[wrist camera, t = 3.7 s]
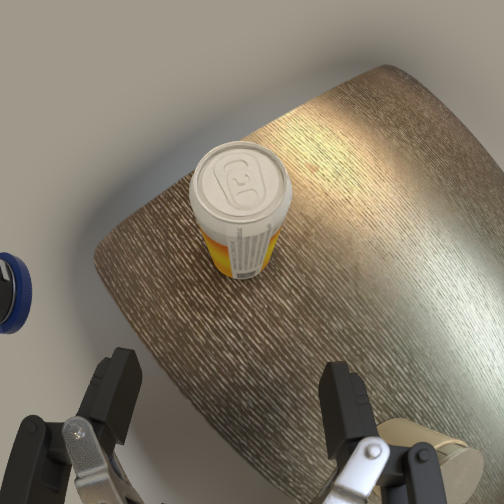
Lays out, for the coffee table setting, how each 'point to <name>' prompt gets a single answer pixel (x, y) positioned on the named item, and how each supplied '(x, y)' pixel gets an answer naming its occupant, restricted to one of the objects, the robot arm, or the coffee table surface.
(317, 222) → the coffee table surface
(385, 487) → the robot arm
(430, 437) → the jar
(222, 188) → the beer can
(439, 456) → the jar lid
